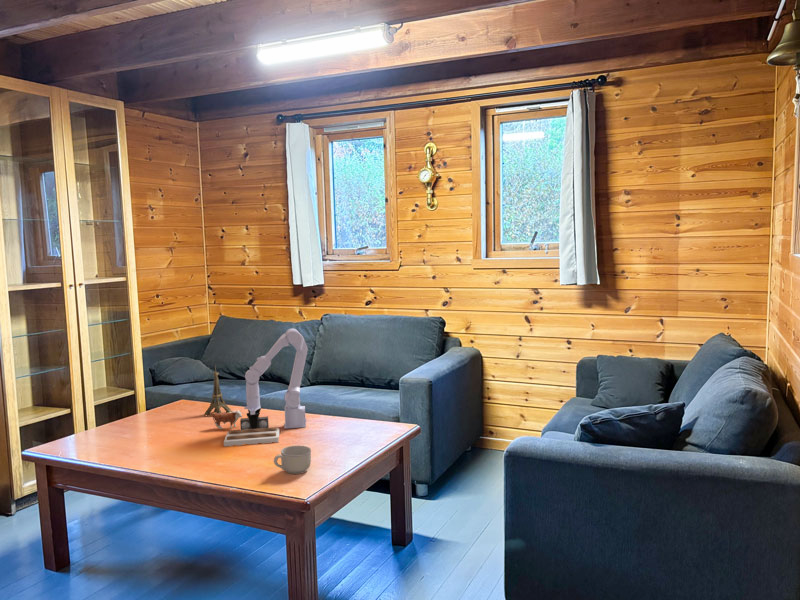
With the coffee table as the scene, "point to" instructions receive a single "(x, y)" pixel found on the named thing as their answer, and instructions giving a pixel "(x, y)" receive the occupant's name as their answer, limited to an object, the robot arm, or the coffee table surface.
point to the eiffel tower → (217, 398)
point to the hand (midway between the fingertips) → (254, 426)
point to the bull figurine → (226, 418)
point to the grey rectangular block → (260, 424)
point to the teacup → (294, 459)
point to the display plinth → (252, 436)
